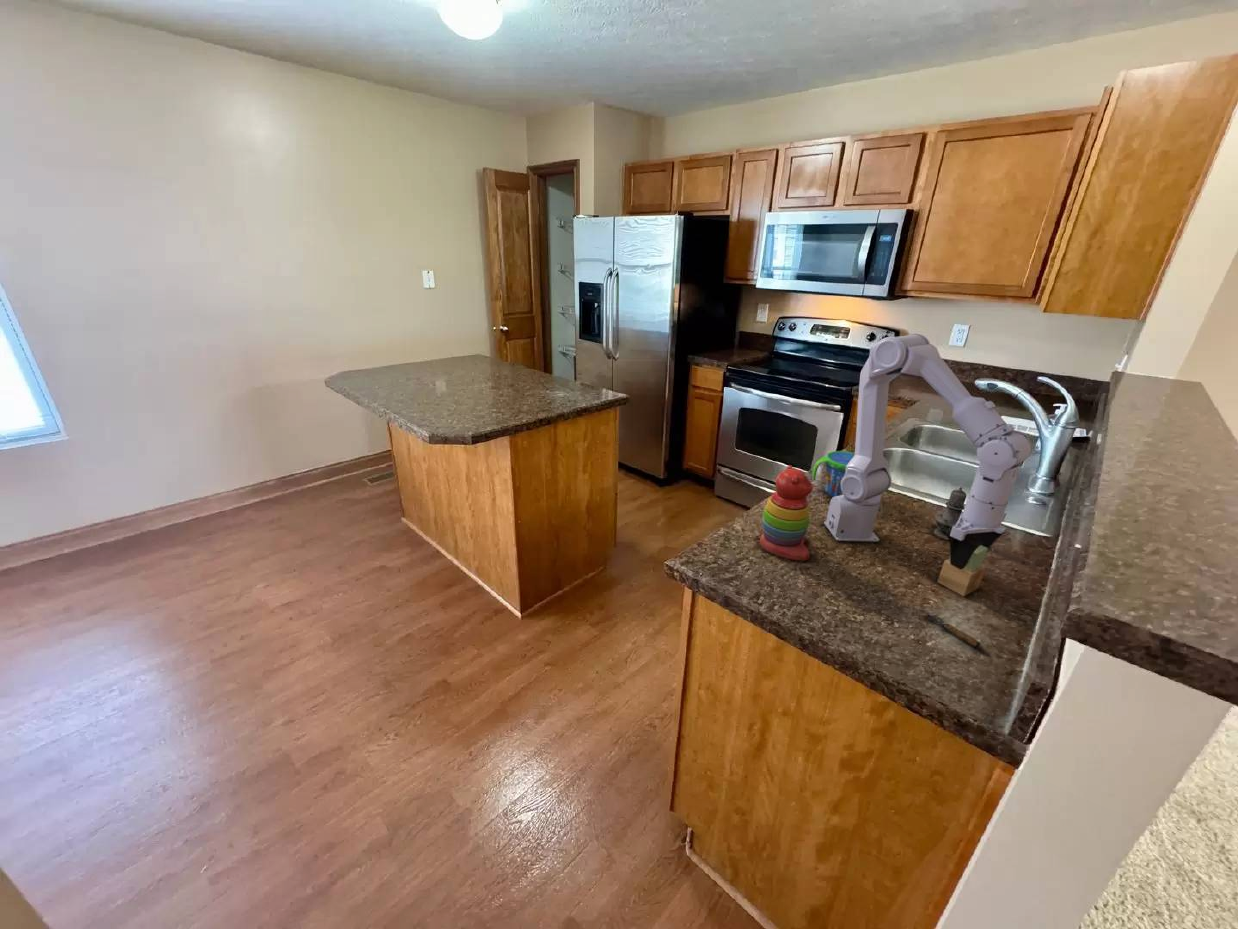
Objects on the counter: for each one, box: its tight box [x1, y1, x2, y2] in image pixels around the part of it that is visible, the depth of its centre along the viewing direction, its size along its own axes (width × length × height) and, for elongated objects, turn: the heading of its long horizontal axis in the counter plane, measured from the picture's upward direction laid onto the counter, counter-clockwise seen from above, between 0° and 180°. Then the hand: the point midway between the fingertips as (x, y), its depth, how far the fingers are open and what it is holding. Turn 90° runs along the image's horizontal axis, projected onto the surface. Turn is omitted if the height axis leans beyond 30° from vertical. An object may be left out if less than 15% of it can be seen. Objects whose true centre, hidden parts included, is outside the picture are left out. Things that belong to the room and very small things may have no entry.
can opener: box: [926, 612, 981, 649], centre depth 86 cm, size 9×2×1 cm, turn 23°
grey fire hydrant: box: [932, 486, 967, 541], centre depth 114 cm, size 6×6×12 cm
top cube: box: [948, 545, 989, 572], centre depth 96 cm, size 4×4×4 cm
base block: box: [937, 558, 986, 597], centre depth 98 cm, size 5×5×5 cm
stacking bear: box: [759, 465, 814, 562], centre depth 107 cm, size 11×10×18 cm
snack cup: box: [811, 450, 855, 498], centre depth 132 cm, size 16×10×10 cm
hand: (965, 561), depth 97 cm, fingers open, 5 cm apart
